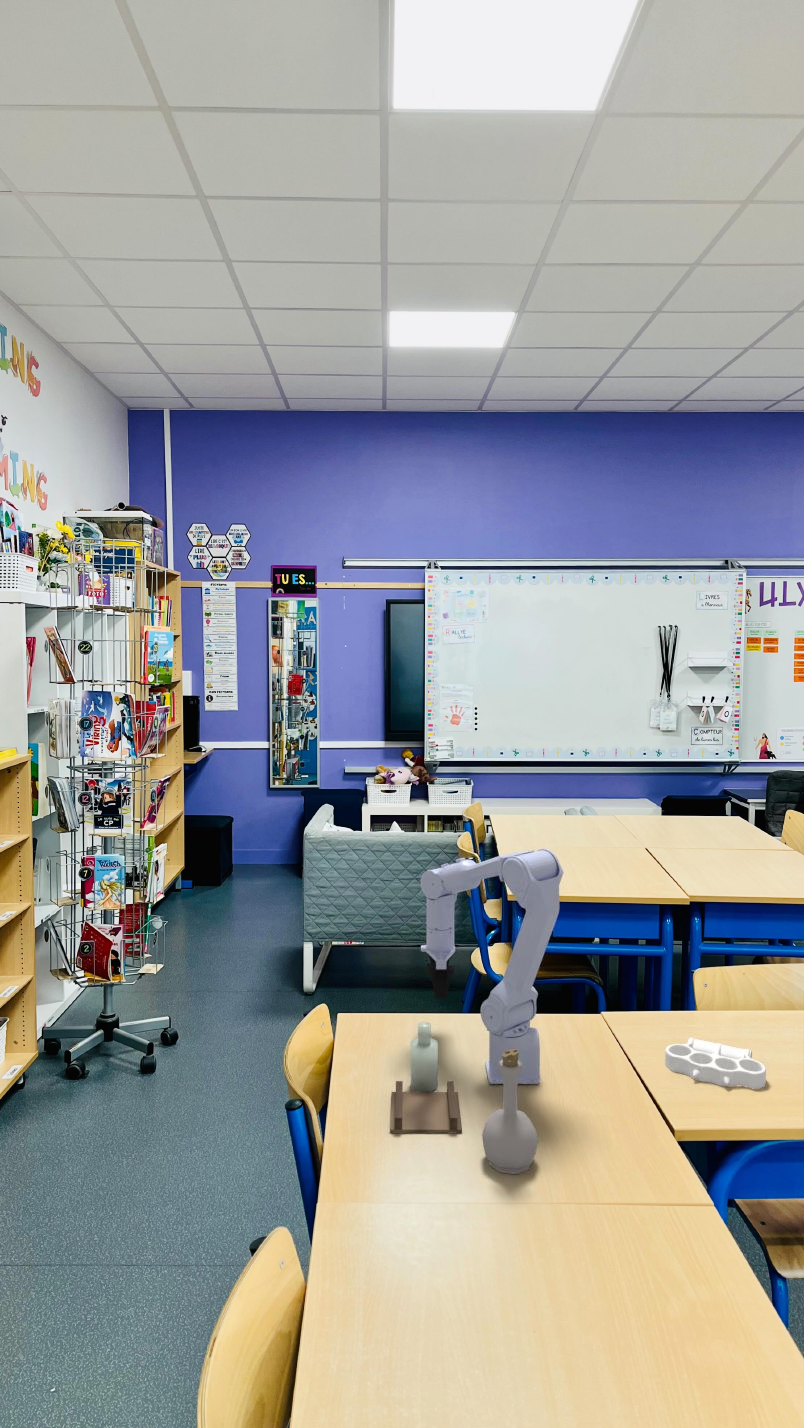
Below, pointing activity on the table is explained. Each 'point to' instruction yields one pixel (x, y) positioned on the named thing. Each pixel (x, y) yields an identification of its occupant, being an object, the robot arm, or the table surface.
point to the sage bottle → (424, 1060)
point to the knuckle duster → (716, 1063)
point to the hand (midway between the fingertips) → (440, 990)
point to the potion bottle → (509, 1125)
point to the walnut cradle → (425, 1111)
